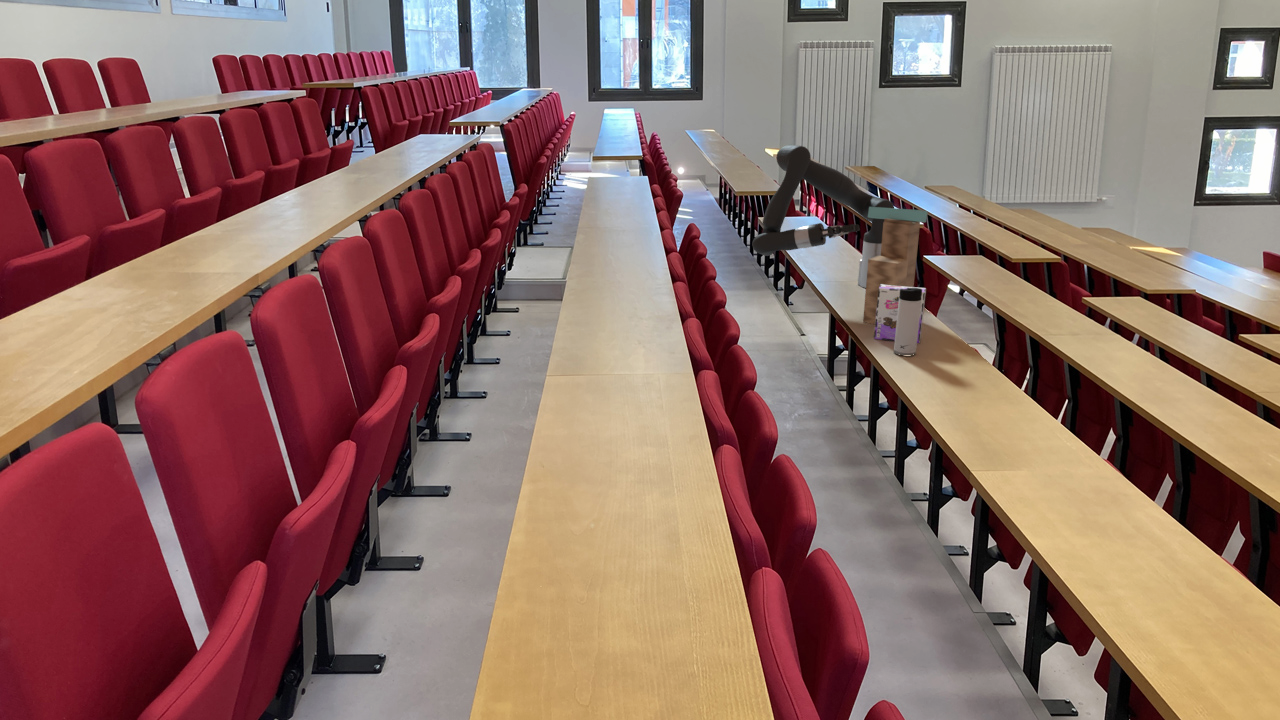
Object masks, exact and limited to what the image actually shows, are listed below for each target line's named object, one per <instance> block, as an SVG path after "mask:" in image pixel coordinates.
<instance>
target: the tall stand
mask: <svg viewBox="0 0 1280 720" xmlns="http://www.w3.org/2000/svg"><path fill="white" fill-rule="evenodd" d="M920 225H921V222H914V221H905V220H896V219H887V218H886V219H884V222H883V234H882V245H881V256H887V257H894V258H901V259H908V267H907V277H906V287H915V285H914V284H915V278H916V265H917V257H918V245H919V239H920V238H919V235H920V228H921V227H920Z"/></svg>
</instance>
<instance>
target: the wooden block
mask: <svg viewBox="0 0 1280 720" xmlns="http://www.w3.org/2000/svg"><path fill="white" fill-rule="evenodd" d="M907 267H908V259H901V258H894V257H887V256H880V255H879V256H876V257H873V258H871V259H868V270H867V281H866V288H865V295H864V308H863V317H862V322H863V323H865V322H867V323H866V324H870V323H871V325H875V319H876V309H877V301H878V291H879V287H880V284H884V285H894V286H906V277H907Z"/></svg>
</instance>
